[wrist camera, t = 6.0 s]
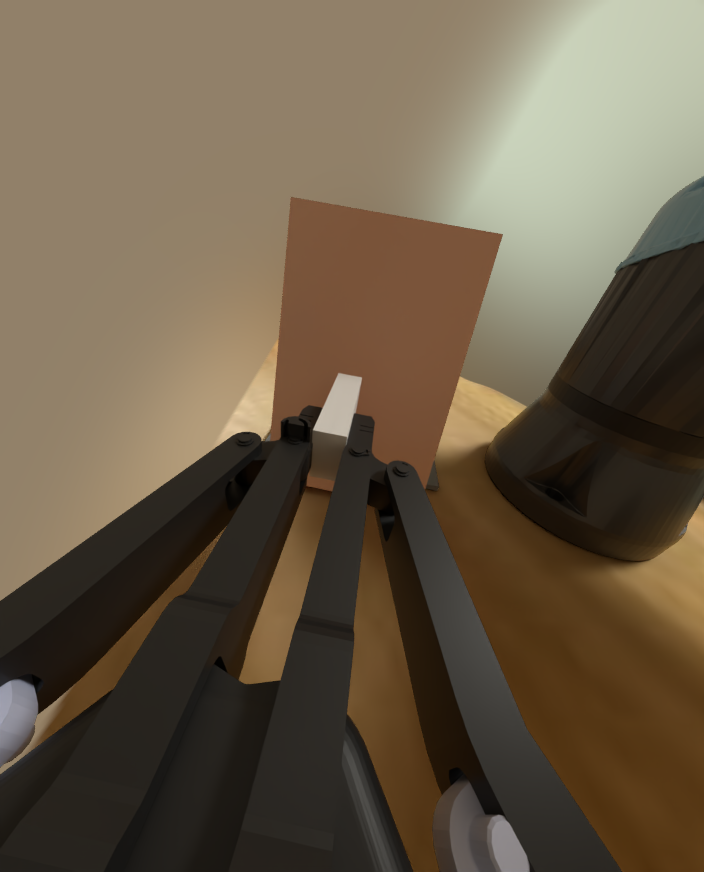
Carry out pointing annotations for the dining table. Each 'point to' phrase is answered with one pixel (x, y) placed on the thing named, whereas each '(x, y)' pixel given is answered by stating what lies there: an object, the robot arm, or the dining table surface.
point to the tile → (379, 321)
